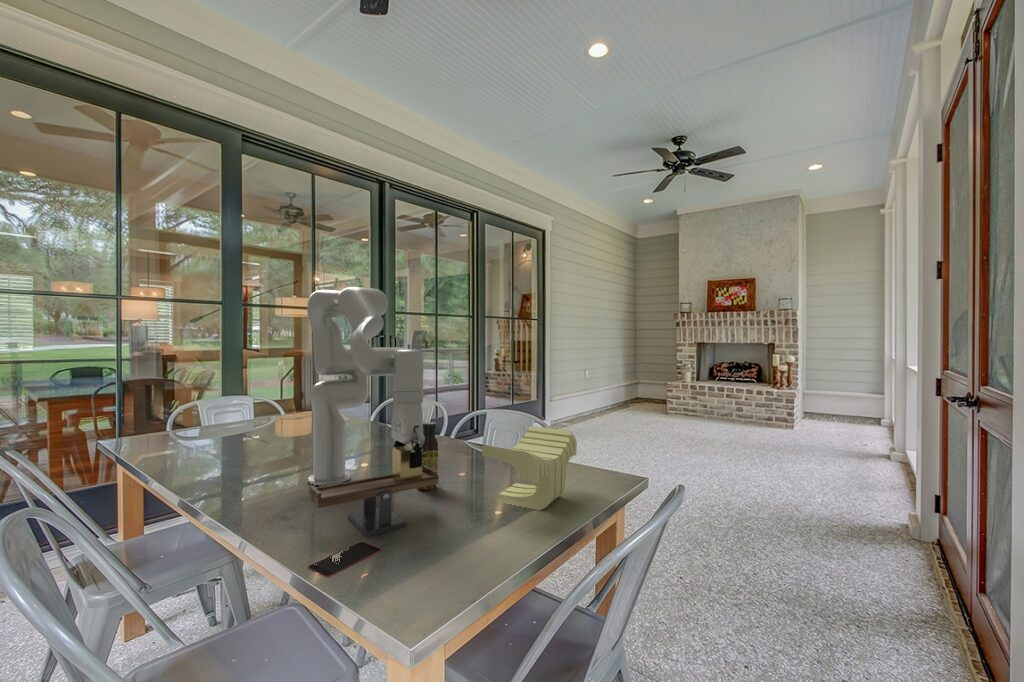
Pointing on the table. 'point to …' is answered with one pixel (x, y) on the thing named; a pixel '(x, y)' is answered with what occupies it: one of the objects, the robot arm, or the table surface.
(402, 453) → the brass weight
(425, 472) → the brown long channel
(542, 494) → the slatted curved stool
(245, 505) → the table surface
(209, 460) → the table surface
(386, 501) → the beam stand
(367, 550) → the smartphone
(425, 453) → the sauce bottle
